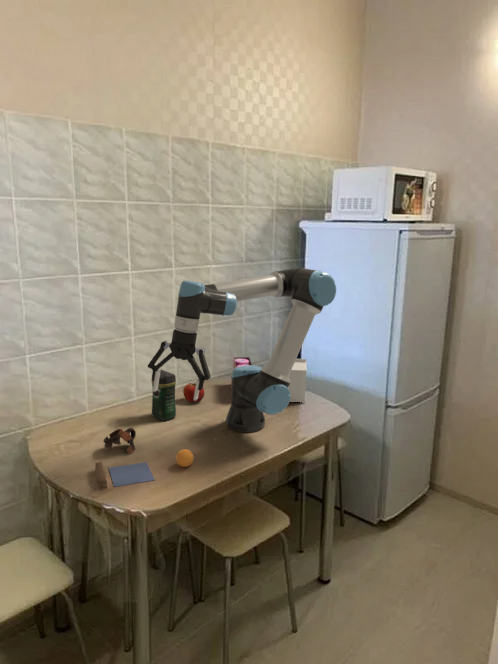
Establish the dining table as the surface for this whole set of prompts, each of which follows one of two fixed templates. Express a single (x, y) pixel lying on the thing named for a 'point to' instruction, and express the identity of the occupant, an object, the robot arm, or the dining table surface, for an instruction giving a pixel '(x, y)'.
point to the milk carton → (298, 381)
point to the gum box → (241, 362)
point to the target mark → (130, 474)
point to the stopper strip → (101, 475)
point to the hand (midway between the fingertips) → (175, 395)
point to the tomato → (192, 393)
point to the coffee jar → (164, 397)
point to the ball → (184, 458)
